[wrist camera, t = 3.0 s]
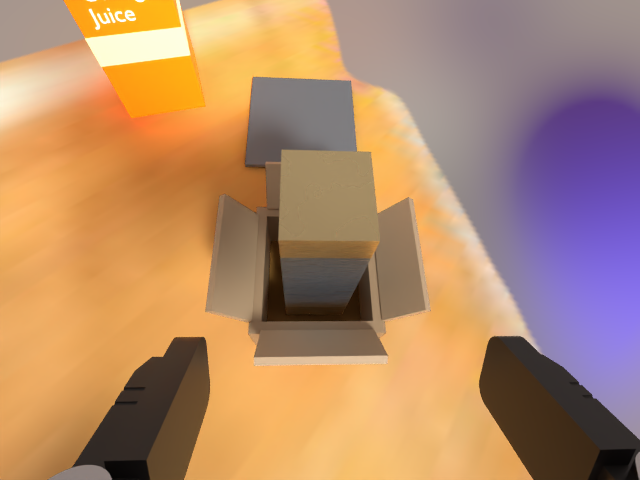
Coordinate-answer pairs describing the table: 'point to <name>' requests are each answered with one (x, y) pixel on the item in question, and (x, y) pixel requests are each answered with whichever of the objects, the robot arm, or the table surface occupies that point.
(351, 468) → the table surface
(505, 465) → the table surface
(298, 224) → the tall two-tone pillar
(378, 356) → the carton
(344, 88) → the felt mat
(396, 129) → the table surface
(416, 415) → the table surface
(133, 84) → the orange juice
